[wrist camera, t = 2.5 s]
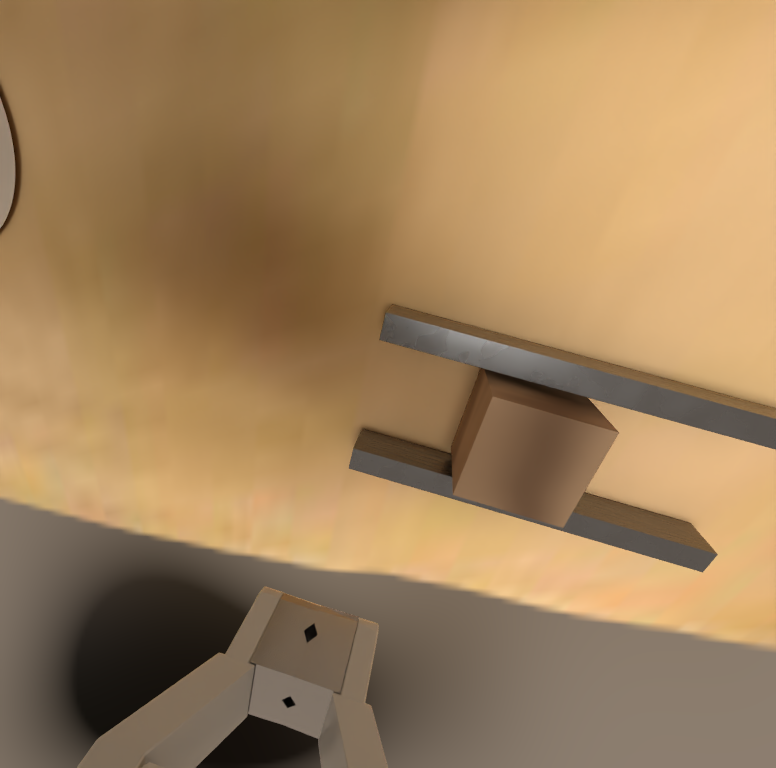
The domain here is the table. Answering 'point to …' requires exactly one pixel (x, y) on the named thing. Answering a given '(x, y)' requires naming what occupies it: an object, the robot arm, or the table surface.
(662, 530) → the grey parallel rails
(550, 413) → the walnut block
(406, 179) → the table surface
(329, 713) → the robot arm
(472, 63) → the table surface
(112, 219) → the table surface
